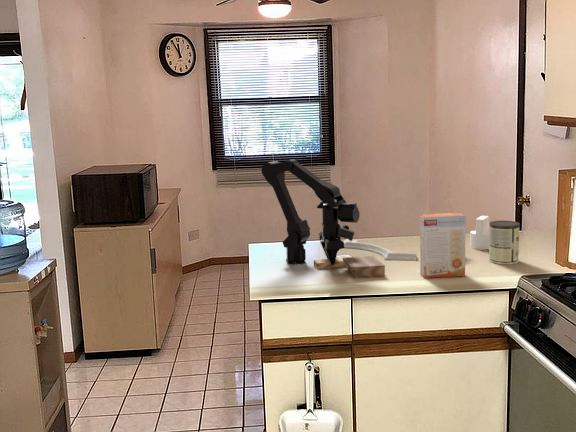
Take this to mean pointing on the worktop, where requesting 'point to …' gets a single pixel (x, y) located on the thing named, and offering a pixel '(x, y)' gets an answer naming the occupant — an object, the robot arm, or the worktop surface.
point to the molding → (380, 250)
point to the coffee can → (504, 242)
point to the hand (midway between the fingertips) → (331, 262)
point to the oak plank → (326, 263)
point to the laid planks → (365, 266)
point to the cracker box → (442, 245)
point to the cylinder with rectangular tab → (480, 234)
